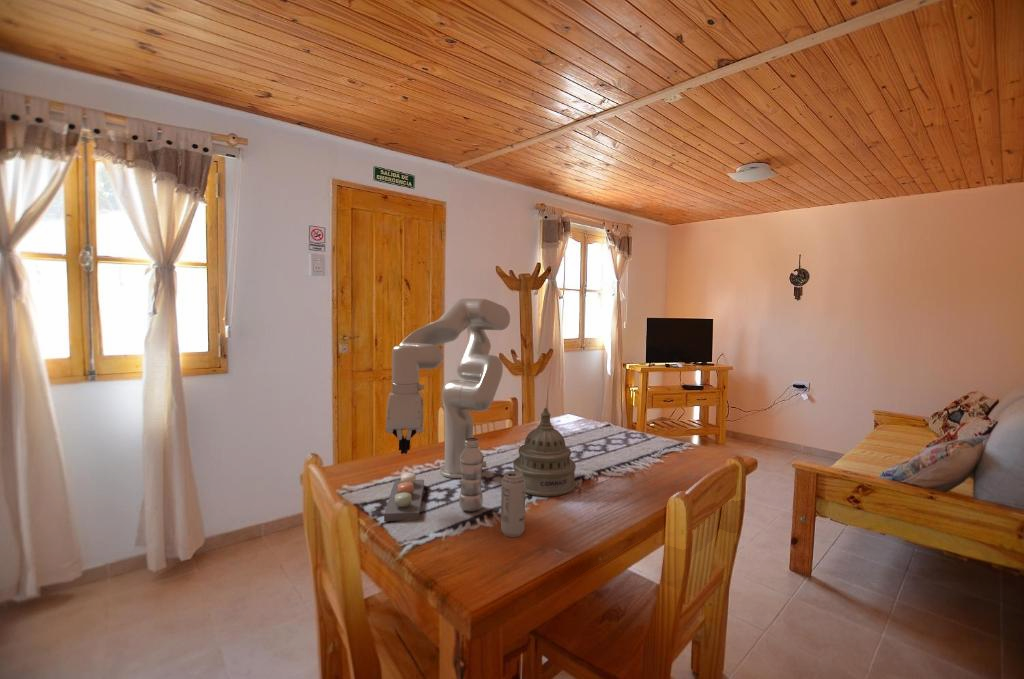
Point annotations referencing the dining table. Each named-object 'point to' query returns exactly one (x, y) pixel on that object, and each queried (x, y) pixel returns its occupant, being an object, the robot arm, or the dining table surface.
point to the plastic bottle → (471, 476)
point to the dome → (546, 461)
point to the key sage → (403, 499)
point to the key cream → (408, 477)
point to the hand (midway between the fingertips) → (404, 452)
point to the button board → (405, 511)
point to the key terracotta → (406, 487)
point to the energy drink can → (513, 504)
